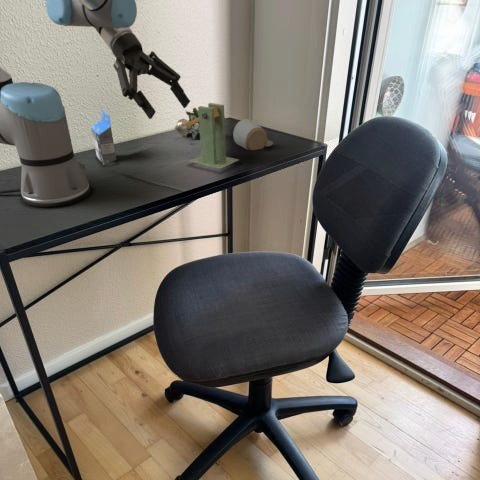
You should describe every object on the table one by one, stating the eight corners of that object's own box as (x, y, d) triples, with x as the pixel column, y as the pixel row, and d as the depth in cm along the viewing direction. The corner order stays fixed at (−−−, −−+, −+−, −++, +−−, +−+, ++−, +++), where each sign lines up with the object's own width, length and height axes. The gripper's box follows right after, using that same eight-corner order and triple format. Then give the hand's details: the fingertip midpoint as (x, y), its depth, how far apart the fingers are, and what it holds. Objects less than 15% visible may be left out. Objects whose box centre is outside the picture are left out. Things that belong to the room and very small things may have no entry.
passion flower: (210, 155, 150) (230, 125, 142) (188, 158, 142) (209, 126, 134) (188, 129, 151) (206, 98, 144) (165, 131, 143) (184, 98, 135)
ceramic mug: (246, 155, 132) (246, 127, 128) (232, 148, 138) (232, 120, 133) (278, 150, 136) (279, 122, 132) (263, 143, 142) (264, 116, 137)
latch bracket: (188, 165, 127) (183, 106, 118) (208, 156, 132) (204, 99, 123) (220, 173, 121) (217, 112, 113) (239, 164, 127) (238, 105, 118)
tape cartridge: (96, 157, 134) (86, 111, 126) (109, 155, 135) (101, 109, 128) (104, 166, 127) (94, 118, 120) (118, 164, 129) (110, 116, 121)
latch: (176, 138, 127) (170, 123, 126) (186, 134, 130) (180, 120, 129) (213, 121, 117) (207, 105, 116) (223, 117, 120) (217, 101, 119)
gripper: (149, 47, 135) (193, 109, 137) (80, 59, 120) (131, 129, 121) (161, 26, 130) (206, 91, 132) (89, 36, 114) (142, 110, 116)
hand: (170, 110), depth 127 cm, fingers open, 13 cm apart
